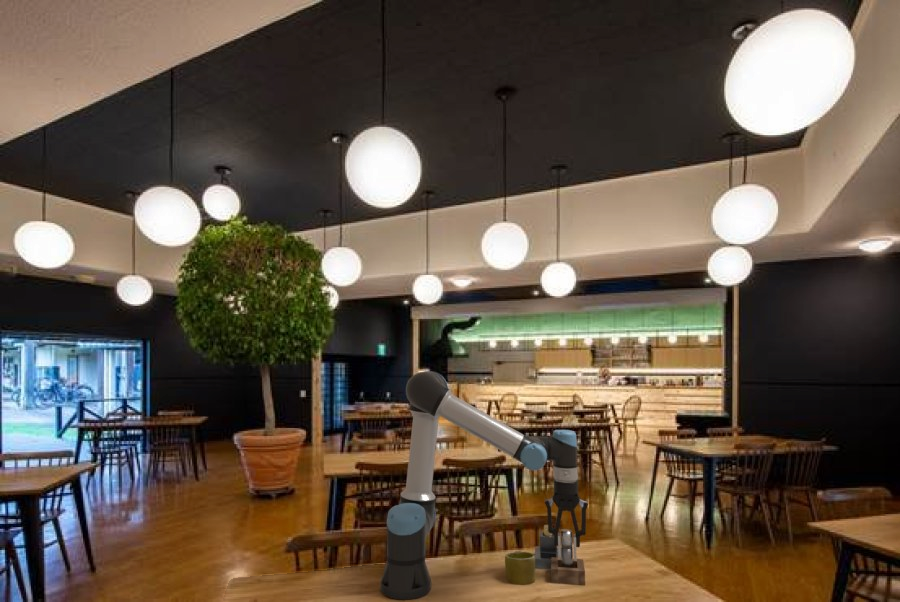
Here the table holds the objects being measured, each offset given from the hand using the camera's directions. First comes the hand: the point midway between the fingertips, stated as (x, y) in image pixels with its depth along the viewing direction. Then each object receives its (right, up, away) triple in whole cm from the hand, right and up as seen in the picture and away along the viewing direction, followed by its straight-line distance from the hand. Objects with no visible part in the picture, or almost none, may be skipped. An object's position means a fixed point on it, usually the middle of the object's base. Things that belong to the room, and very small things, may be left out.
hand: (567, 556), depth 167 cm
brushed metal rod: (0, -6, -1) cm, 6 cm away
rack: (0, -7, -1) cm, 7 cm away
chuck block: (-4, -8, +12) cm, 15 cm away
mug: (-15, -7, 0) cm, 16 cm away
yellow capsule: (-3, -4, +15) cm, 16 cm away
